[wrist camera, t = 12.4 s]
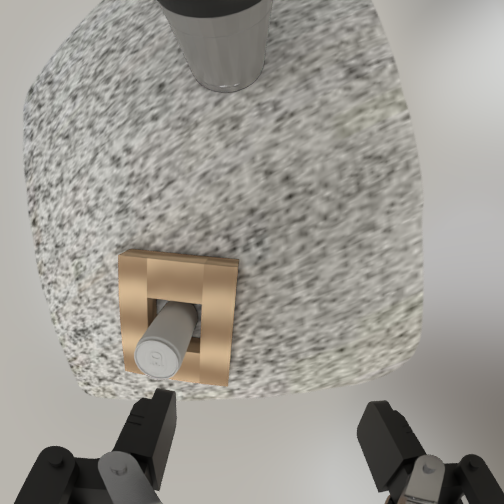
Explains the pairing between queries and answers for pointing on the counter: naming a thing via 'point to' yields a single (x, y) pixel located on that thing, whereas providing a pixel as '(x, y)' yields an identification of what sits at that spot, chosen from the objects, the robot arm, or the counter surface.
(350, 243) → the counter surface
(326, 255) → the counter surface
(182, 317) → the beverage can
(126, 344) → the socket
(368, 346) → the counter surface
